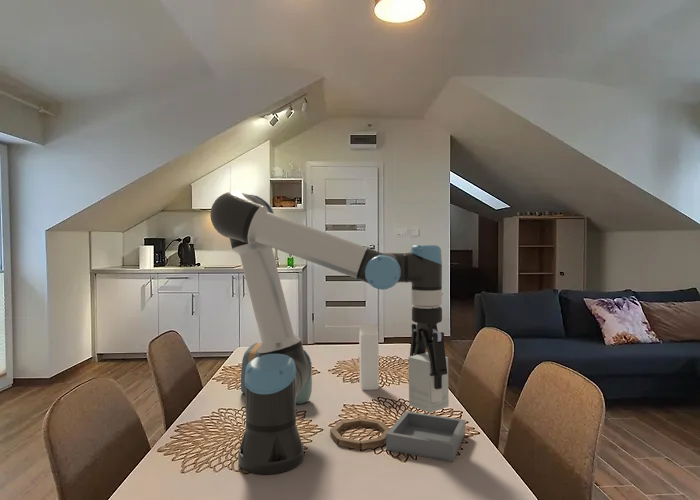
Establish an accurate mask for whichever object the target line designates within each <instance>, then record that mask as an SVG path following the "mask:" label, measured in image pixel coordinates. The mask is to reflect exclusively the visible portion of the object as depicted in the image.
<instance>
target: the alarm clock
mask: <svg viewBox="0 0 700 500" xmlns="http://www.w3.org/2000/svg"><path fill="white" fill-rule="evenodd" d="M261 344H262V342H254V343H252V345H250V346H249V347H248V348H247V350H245V352H244V353H243V356H242V361H241V373H240V390H241V392H242V394H245V381H244V379H245V372H246V366H247V365H248V363H249V362H250V361H251V360H252V359H254V358H256V357H259V354H258V349H259V348H260V346H261Z"/></svg>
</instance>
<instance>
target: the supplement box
mask: <svg viewBox="0 0 700 500" xmlns="http://www.w3.org/2000/svg"><path fill="white" fill-rule="evenodd" d="M413 355H414V354H413ZM445 357H446V366H447V374H445V375H442V401H438V402H431V389H430V374H431V373H432V370H431V362H430V360H429V355H428V351H425V353H422V354H418V355H414V356H410V355H409V356H408V357H407V358H408V404H409V405H408V406H410V407H413V408H416V409H419V410H422V411H425V412H426V413H429V414H431V413H434V412H436V411H439V410H443V409H445V408H448V407H449V404H450V403H449V397H450V396H449V357H448V356H445Z"/></svg>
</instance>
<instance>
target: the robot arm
mask: <svg viewBox="0 0 700 500" xmlns="http://www.w3.org/2000/svg"><path fill="white" fill-rule="evenodd" d="M210 221H211V223H212V226H213V227H214V229H215V230H216V231H217V233H218V234H219V235H220V236H223V237H225V238H229V241H230V245H231V249H232V251H233V252H234V253H236V254H238V255H239V257H240V260H241V265H242V270H243V274H244V277H245V281H246V285H247V289H248V293H249V297H250V301H251V305H252V308H253V313H254V317H255V321H256V325H257V329H258V334H259V336H260V341H261V343H262V344H261V346H260V348H259V349H258V354H259V357H256V358H254V359H252V360H251V361H250V362H249V363H248V365H247V366H246V372H245V379H244V381H245V393H244V398H245V403H244V404H245V431H244V433H243V436H242V439H241V442H240V446H239V449H238V465H239V467H240V468H241V469H243V470H244V471H246V472H249V473H252V474H256V475H273V474H279V473H283V472H287V471H290V470H293V469H294V468H297V466H299V465H300V464H301V463H302V462H303V460H304V457H305V456H304V454H305V453H304V452H305V451H304V450H305V449H304V444H303V442H302V439H301V436H300V432H299V429H298V427H297V409H296V408H297V404H296V396H297V395H298V394H299V392H300V391H301V390H302V389H303V388H304V387H305V385H306V384H307V382H308V380H309V378H310V375H311V371H312V370H313V369H312V368H313V365H312V364H313V363H312V360H311V358H310V355H309V354H308V352H307V351H306V350H305V349H304V347H303V342H302V339H301V338H300V337H299V336H297V335H296V334H294V330H293V327H292V322H291V318H290V313H289V310H288V305H287V303H286V302H287V301H286V297H285V293H284V289H283V287H282V282H281V278H280V274H279V271H278V266H277V262H276V259H275V254H274V251H273V249H275V250H277V251H281V252H283V253H286V254H288V255H291V256H295V257H296V258H299V259H302V260H304V261H307V262H311V263H313V264H316V265H318V266H321V267H324V268H327V269H330V270H332V271H335V272H337V273H341V274H343V275H345V276H348V277H352V278H354V279H356V280H359V281H362V282H364V283H367V284H369V285H370V286H371V287H373V288H375V289H377V290H381V291H382V290H388V289H390V288H392V287H394V286H395V285H396V284H397V283H411V290H410V291H411V305H412V307H411V320H412V321H413V323H411V336H410V337H411V338H410V339H411V341H410V348H409V349H410V350H409V357H410V356H414V355H418V354H422V353H426V351H427V352H428V355H429V360H430V362H431V370H432V373H431V374H430V389H431V402H438V401H442V375H445V374H447V366H446V357H447V356H446V351H445V333H444V332H439V330H438V323H439V324H440V323H442V321H443V308H442V307H441V305H442V303H443V301H442V300H443V299H442V298H443V295H444V294H443V291H442V288H443V285H442V284H443V282H442V280H443V261H442V260H443V259H442V249H441V247H440V246H439V245H436V244H414V245H412V246H411V250H410V252H405V253H404V252H401V253H399V252H380V251H377V250H375V249H372V248H371V249H370V248H369V247H365V246H362V245H360V244H358V243H354V242H352V241H349V240H347V239H343V238H341V237H340V236H336V235H332V234H329V233H327V232H326V231H325V232H324V231H322V230H319V229H316V228H313V227H311V226H308V225H305V224H302V223H299V222H297V221H294V220H292V219H289V218H286V217H283V216H281V215H278V214H275V213H274V210H273V208H272V206H271V204H269V203H268V202H267V201H266V200H265V199H263V198H261V197H260V196H257V195H254V194H247V193H244V192H241V191H228V192H225V193H223V194H221V195H219V196H218V197H216V199H215V200H214V202H213V204H212V206H211V208H210ZM312 372H313V371H312Z"/></svg>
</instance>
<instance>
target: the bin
mask: <svg viewBox="0 0 700 500" xmlns="http://www.w3.org/2000/svg"><path fill="white" fill-rule="evenodd" d="M465 436H466V419H461V418H455V417H449V416H441V415H436V414H435V415H434V414H431V413H429V414H428V413H424V412H423V413H421V412H415V411H410V410H405V411H404V412H403V413H402V415H400V416H399V418H398V419H397V420H396V421H395V423H394V424H393V425H392V426H391V428H390V430H389V431H388V432H387V433H386V443H385V444H386V445H385V446H386V448H385V449H386V451H391V452H397V453H402V454H406V455H407V454H408V455H411V456H418V457H422V458H427V459H434V460H439V461H444V462H450V463H454V461H455V458H456V457H457V454H458V451H459V450H460V448H461V445H462V442H463V440H464V438H465Z"/></svg>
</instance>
